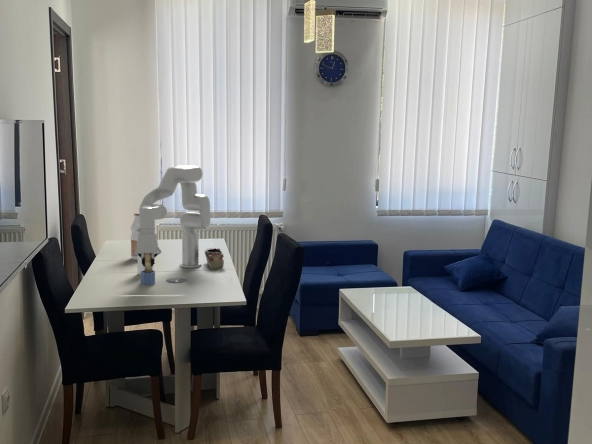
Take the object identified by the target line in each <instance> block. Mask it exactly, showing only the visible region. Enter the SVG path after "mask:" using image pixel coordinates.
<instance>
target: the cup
mask: <svg viewBox="0 0 592 444" xmlns="http://www.w3.org/2000/svg"><path fill="white" fill-rule="evenodd" d="M140 284H141V285H142V286H153V285H155V284H156V270H154V269H153V270H152V272H151V273H145V270H143V271H141V274H140Z"/></svg>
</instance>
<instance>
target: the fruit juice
mask: <svg viewBox="0 0 592 444" xmlns="http://www.w3.org/2000/svg"><path fill="white" fill-rule="evenodd" d="M138 228H140V218H139V212H134V218H133V221H132V224H131V226H130V231H131V234H130V251H131V252H130V255H131V256H130V257H131V260H133V261H134V260H135V261H138V259H137V254H135V253H134V252H135V250H136V249H137V240H138V234H139V233H140V232H139V231H137V229H138Z"/></svg>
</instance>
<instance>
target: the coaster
mask: <svg viewBox="0 0 592 444" xmlns="http://www.w3.org/2000/svg"><path fill="white" fill-rule="evenodd" d="M187 281H188V279H186V278H183V277H171V278H167V279H166V280H165V282H166V283H168V284H183V283H186V282H187Z"/></svg>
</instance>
